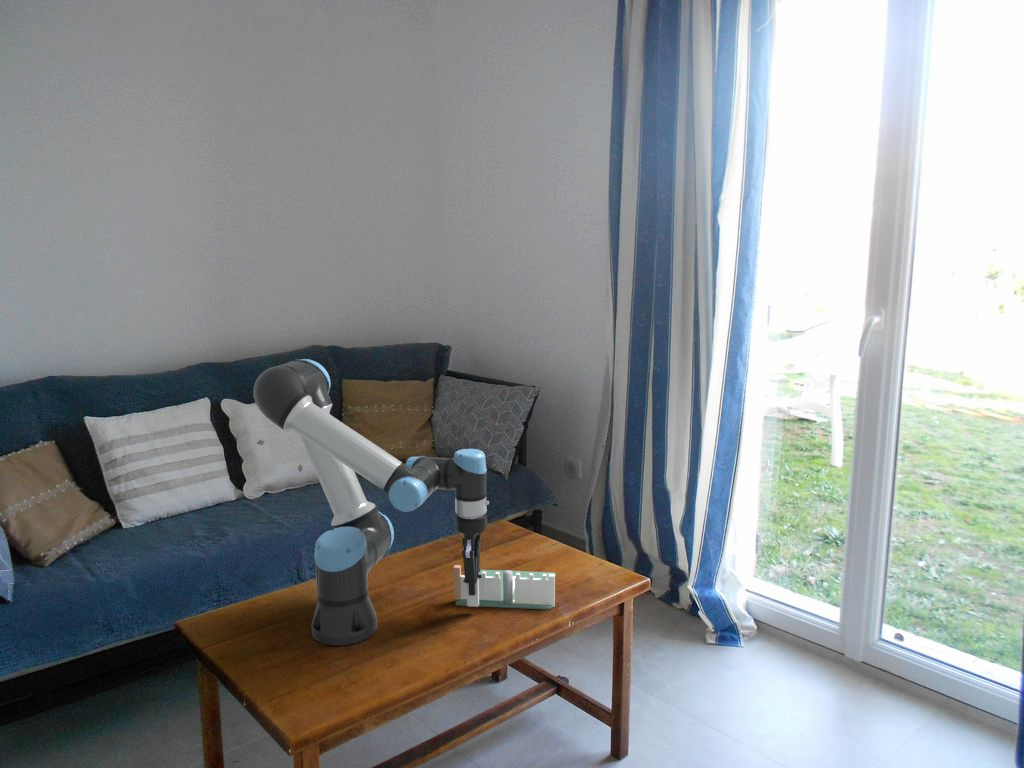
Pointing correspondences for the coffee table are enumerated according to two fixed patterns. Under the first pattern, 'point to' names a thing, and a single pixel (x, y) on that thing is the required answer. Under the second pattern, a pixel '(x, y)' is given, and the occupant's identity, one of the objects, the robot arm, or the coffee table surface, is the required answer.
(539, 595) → the fixed fence
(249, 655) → the coffee table surface
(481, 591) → the white crenellated wall
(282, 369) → the robot arm
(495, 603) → the board
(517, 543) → the coffee table surface
